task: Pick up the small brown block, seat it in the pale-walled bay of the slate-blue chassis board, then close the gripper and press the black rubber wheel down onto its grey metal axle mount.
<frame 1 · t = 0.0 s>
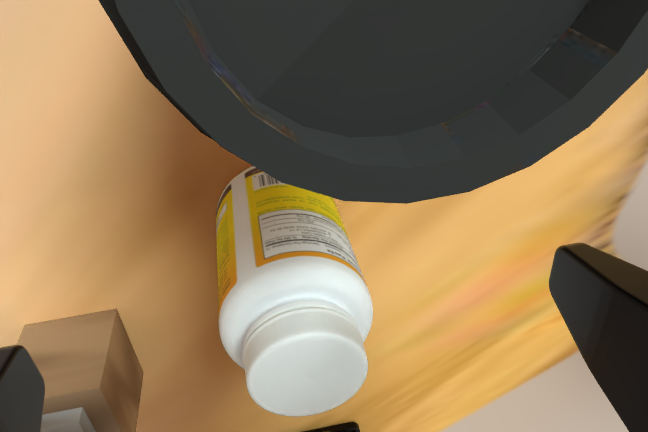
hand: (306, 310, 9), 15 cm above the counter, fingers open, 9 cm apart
brown block: (87, 349, 28), on the counter
supplement bottle: (275, 205, 25), on the counter
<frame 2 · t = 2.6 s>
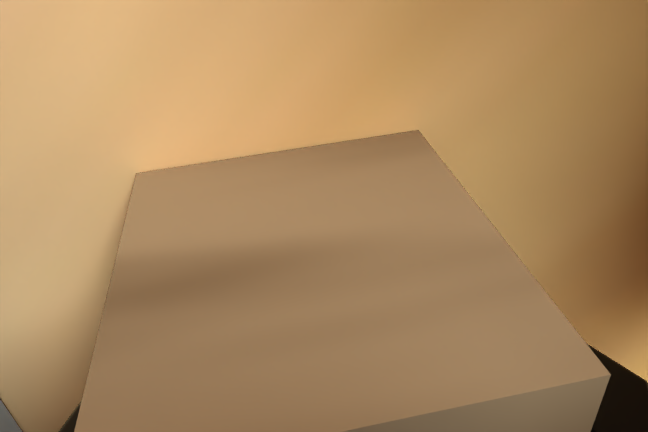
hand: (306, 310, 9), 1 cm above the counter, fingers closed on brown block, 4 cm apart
brown block: (298, 271, 10), on the counter, touching gripper
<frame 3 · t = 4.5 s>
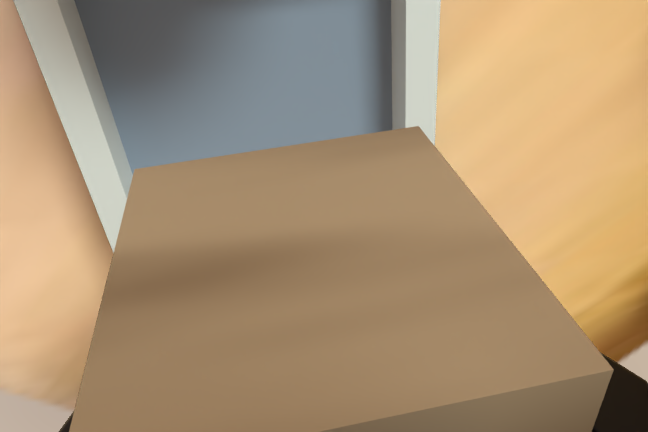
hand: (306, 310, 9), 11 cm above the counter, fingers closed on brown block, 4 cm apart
brown block: (297, 268, 10), point 10 cm above the counter, touching gripper
when the fingers open (3 cm above the counter, at t = 6.3 s): brown block stays where it is, resting on chassis.
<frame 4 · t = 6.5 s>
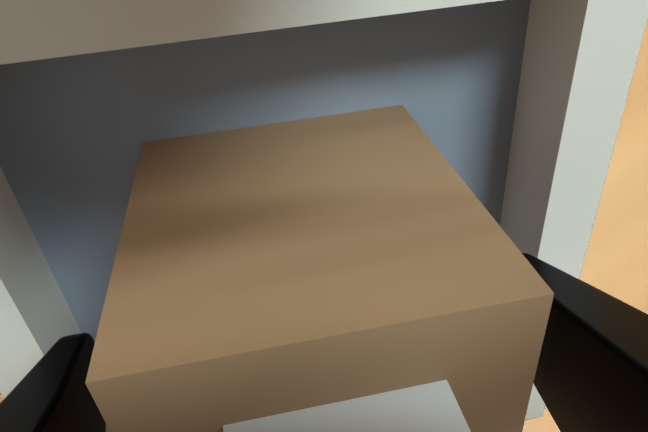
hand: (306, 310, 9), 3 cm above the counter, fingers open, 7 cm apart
brown block: (291, 238, 10), point 1 cm above the counter, touching chassis
chassis: (254, 20, 9), on the counter
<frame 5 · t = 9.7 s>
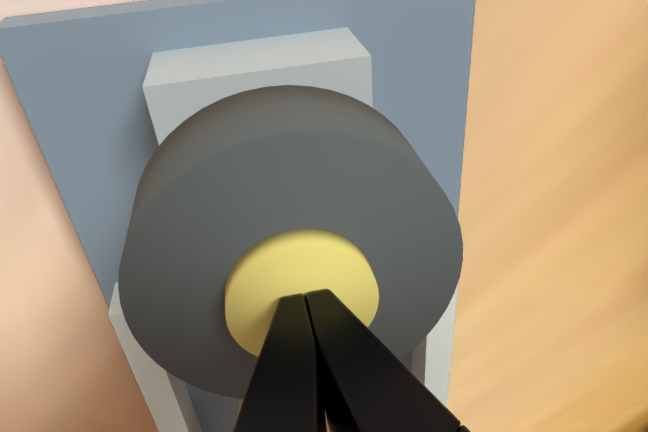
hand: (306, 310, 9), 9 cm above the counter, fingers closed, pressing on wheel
chassis: (285, 265, 19), on the counter
wheel: (294, 263, 10), point 7 cm above the counter, slide at -0.4 cm, touching gripper
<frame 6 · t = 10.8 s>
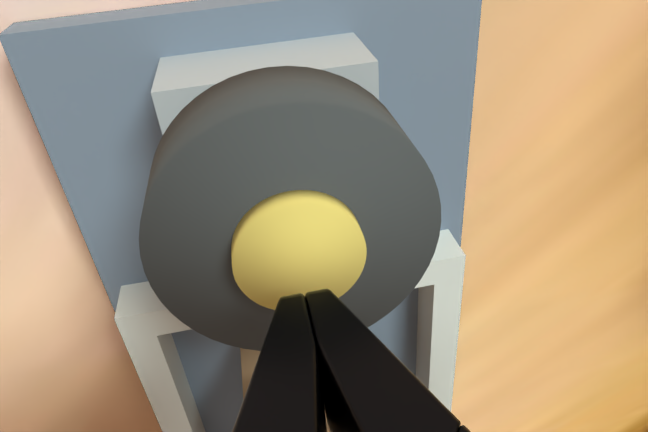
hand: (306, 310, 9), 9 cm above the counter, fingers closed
brown block: (307, 364, 21), point 1 cm above the counter, touching chassis
chassis: (290, 268, 19), on the counter
wheel: (292, 225, 11), point 6 cm above the counter, slide at -1.9 cm
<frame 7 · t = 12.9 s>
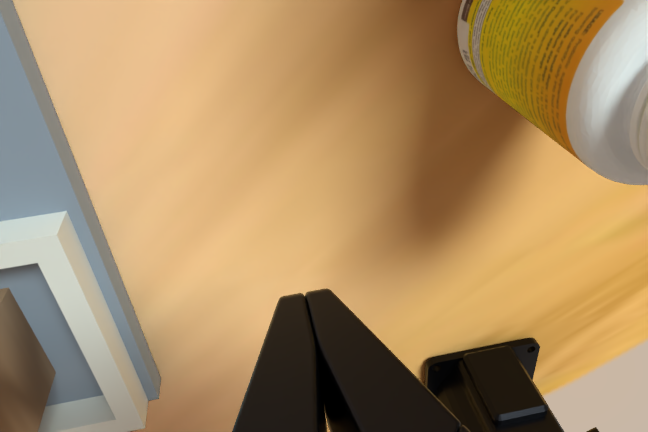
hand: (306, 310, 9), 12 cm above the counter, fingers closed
supplement bottle: (521, 11, 19), on the counter
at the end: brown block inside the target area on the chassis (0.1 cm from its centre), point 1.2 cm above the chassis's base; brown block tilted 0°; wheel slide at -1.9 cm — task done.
